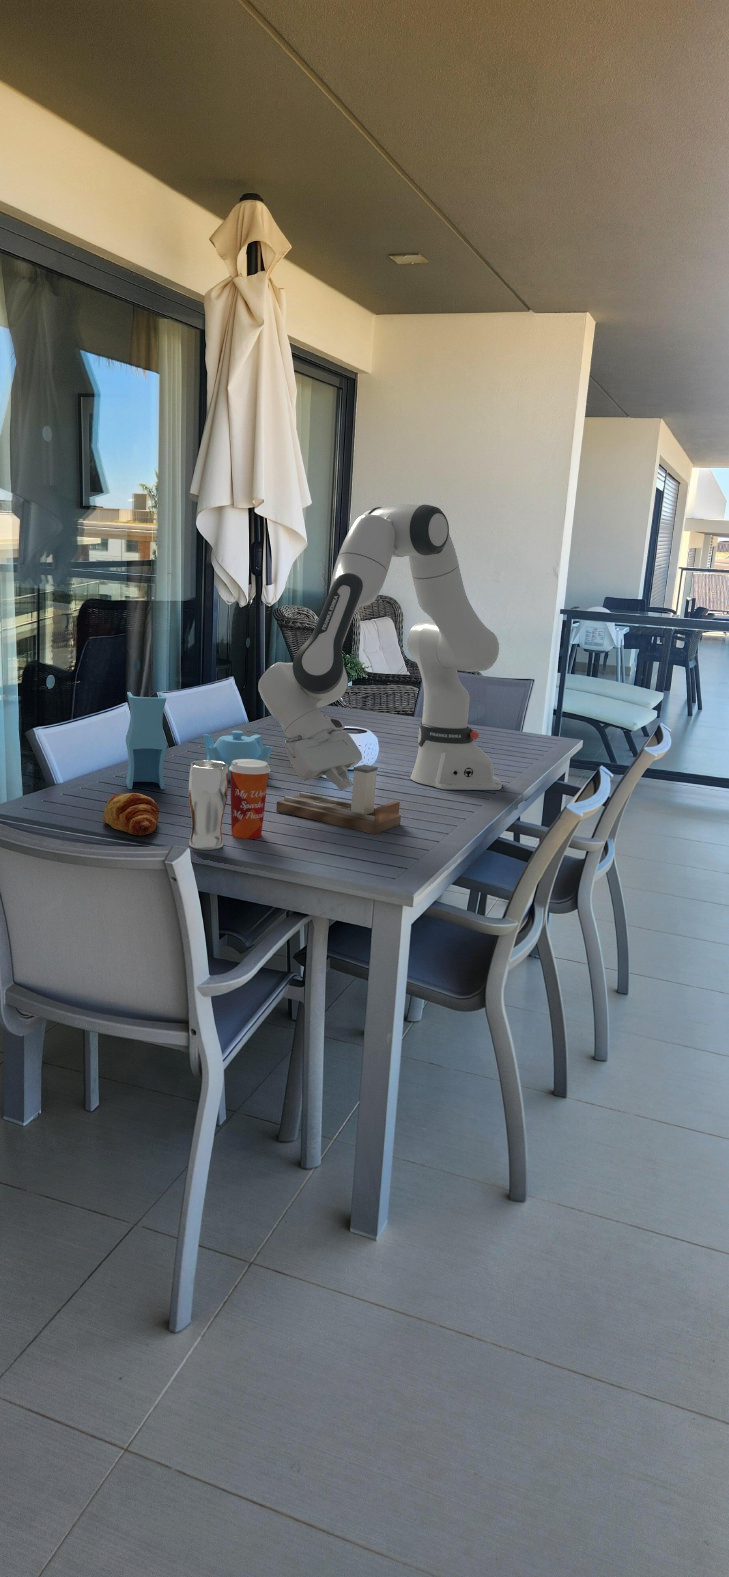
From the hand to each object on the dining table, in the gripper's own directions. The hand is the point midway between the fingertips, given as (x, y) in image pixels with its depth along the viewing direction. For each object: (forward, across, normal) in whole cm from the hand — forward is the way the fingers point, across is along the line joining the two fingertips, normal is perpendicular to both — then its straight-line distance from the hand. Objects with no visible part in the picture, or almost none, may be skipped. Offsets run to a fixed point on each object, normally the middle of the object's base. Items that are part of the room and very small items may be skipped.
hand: (347, 788), depth 203 cm
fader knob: (+6, 0, 0) cm, 6 cm away
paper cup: (0, -23, +10) cm, 25 cm away
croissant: (-14, -34, +24) cm, 44 cm away
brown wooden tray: (+4, 0, +6) cm, 7 cm away
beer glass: (-1, -34, +11) cm, 36 cm away
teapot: (-23, +14, +33) cm, 42 cm away
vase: (-28, -8, +38) cm, 48 cm away
